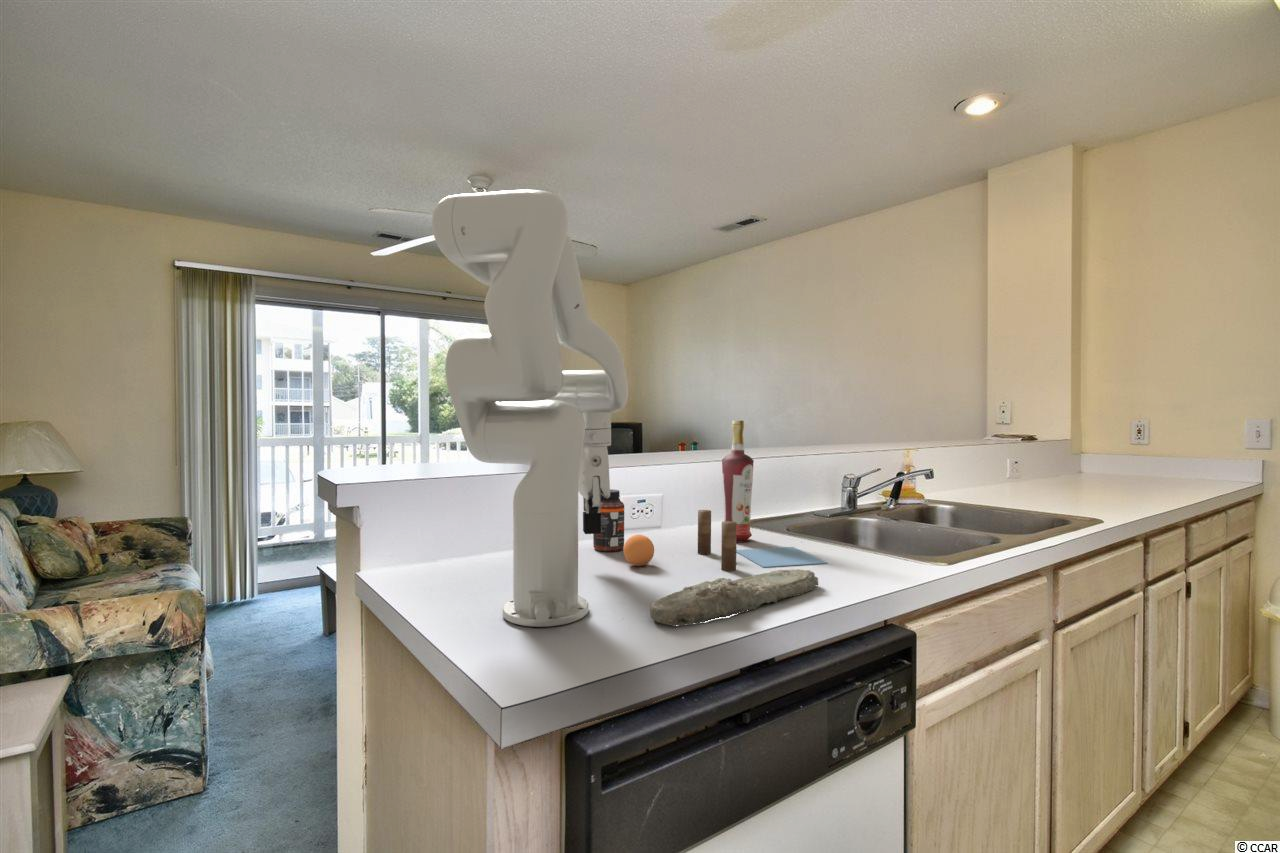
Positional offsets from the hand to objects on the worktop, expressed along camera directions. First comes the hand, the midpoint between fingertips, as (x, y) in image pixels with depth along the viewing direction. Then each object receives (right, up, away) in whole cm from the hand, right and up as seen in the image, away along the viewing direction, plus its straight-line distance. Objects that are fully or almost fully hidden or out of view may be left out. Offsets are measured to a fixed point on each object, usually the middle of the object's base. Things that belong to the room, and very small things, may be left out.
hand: (592, 532), depth 113 cm
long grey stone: (+25, -8, -20) cm, 33 cm away
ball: (+9, -4, +2) cm, 10 cm away
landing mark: (+38, -7, +9) cm, 40 cm away
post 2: (+26, -7, -1) cm, 27 cm away
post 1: (+23, -7, +12) cm, 27 cm away
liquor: (+32, -6, +25) cm, 41 cm away
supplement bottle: (+2, -7, +15) cm, 17 cm away
